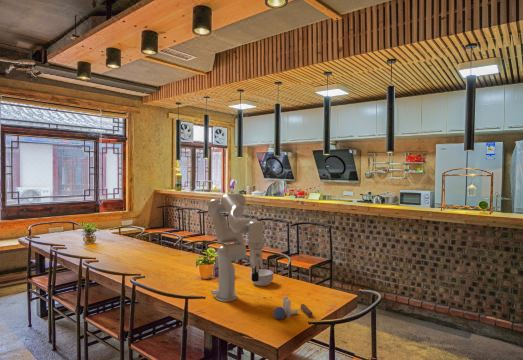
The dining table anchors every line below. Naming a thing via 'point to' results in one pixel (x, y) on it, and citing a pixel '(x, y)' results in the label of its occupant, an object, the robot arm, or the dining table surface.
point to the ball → (279, 313)
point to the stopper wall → (306, 310)
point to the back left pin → (284, 302)
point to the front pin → (292, 312)
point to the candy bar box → (216, 267)
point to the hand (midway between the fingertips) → (255, 280)
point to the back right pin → (288, 308)
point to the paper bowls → (264, 278)
